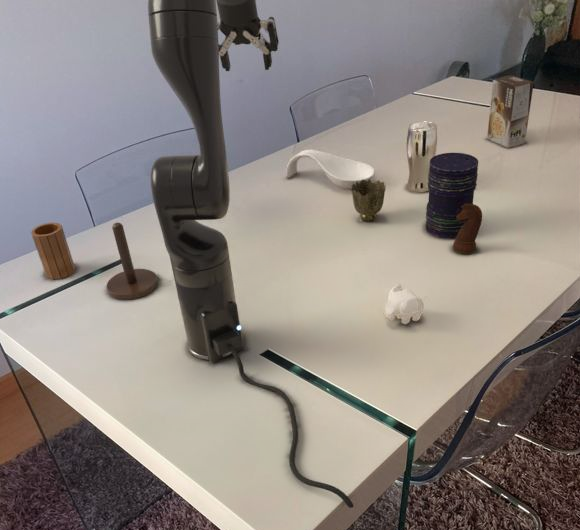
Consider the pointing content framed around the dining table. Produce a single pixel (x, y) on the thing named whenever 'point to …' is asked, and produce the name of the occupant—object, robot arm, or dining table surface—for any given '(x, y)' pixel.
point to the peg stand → (129, 273)
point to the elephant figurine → (403, 305)
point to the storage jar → (449, 192)
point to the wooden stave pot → (53, 250)
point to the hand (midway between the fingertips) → (247, 68)
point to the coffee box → (509, 110)
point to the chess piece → (468, 229)
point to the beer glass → (420, 154)
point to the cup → (368, 198)
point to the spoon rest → (335, 168)
